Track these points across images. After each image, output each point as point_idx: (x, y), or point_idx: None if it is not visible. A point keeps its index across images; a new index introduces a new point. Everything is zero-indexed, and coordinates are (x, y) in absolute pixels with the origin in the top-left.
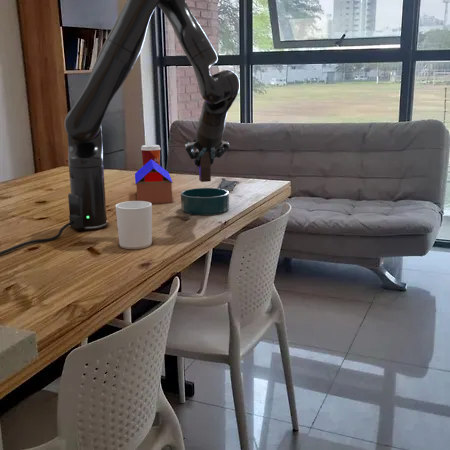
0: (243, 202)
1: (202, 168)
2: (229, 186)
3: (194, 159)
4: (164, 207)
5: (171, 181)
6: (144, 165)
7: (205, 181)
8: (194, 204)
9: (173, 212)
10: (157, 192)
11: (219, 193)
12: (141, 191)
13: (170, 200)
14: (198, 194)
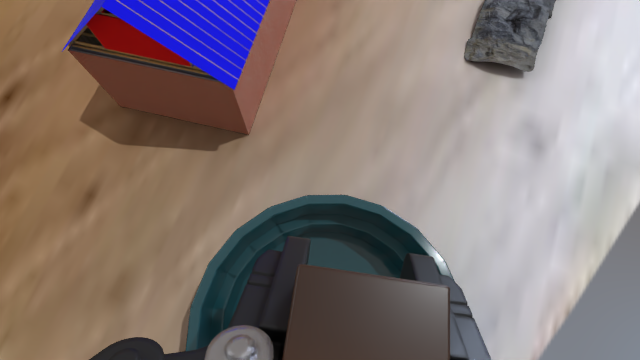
0: (530, 254)
1: None
2: (528, 27)
3: (250, 274)
4: (186, 200)
5: (235, 72)
6: None
7: None
8: None
9: (179, 306)
10: (179, 97)
11: None
12: (110, 78)
13: (241, 129)
14: (331, 213)
